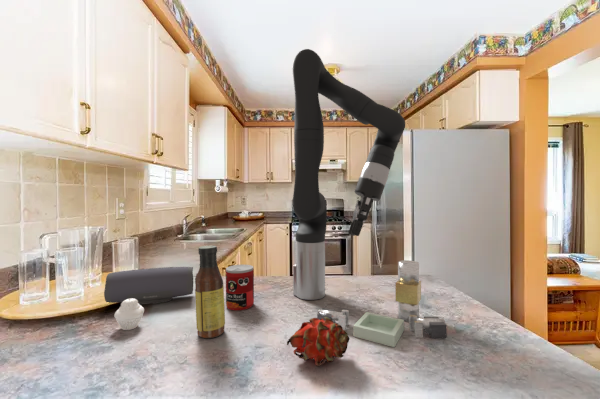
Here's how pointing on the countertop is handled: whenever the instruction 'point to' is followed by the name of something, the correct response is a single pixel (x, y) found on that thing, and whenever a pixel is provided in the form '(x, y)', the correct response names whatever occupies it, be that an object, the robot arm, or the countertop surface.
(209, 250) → the sauce bottle
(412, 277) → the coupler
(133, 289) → the bluetooth speaker
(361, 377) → the countertop surface
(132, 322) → the muffin
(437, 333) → the shaft
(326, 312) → the shaft
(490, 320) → the countertop surface
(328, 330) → the dragon fruit
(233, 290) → the canned food
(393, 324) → the mint green tray
